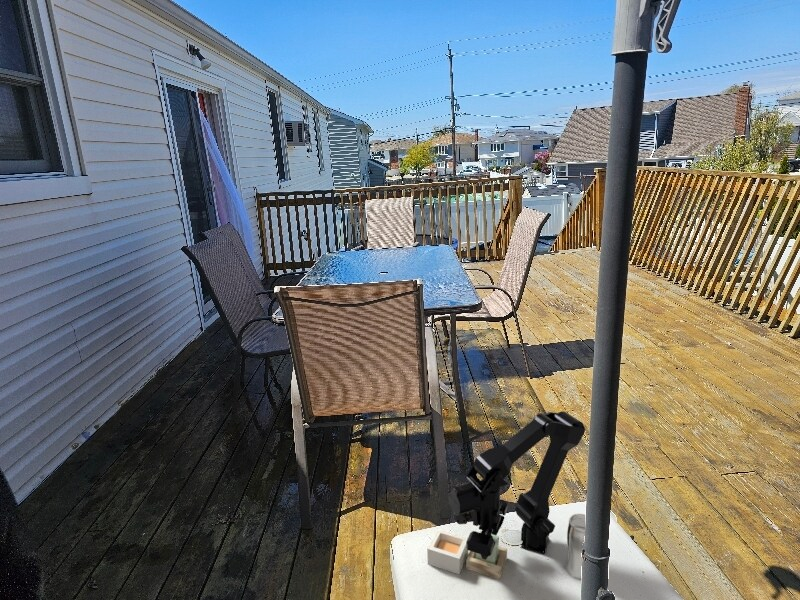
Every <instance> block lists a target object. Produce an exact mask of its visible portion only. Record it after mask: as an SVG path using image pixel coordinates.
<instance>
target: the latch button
mask: <svg viewBox="0 0 800 600" xmlns="http://www.w3.org/2000/svg"><path fill="white" fill-rule="evenodd" d="M437 548H438V549H442V550H445V551H448V552H451V553H454V554H457V552H458V550H459V548H460V546H459V545H456V544H452V543H449V542H446V541H443V540H441V541H440V543H439V545H438V547H437Z"/></svg>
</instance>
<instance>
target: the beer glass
mask: <svg viewBox="0 0 800 600" xmlns="http://www.w3.org/2000/svg"><path fill="white" fill-rule="evenodd" d="M585 515H586V514H583V513H574V514H572V515H571V516H570V517H569V519H568V526H567V531H566V533H567V534H566V542H567V549H568V550H567V551H568V559H567V562H566V565H565V566H566V567H565V569H566V572H567V573H568V574H569V575H570V576H571V577H573V578H575V579H578V580H582V579H581V566H582V557H581V553H582V544H583V542H584V536H585Z"/></svg>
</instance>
